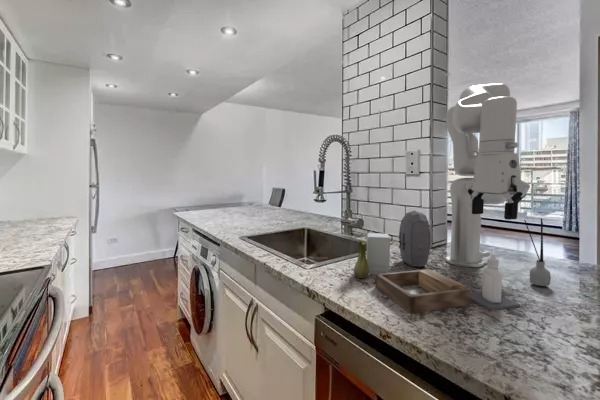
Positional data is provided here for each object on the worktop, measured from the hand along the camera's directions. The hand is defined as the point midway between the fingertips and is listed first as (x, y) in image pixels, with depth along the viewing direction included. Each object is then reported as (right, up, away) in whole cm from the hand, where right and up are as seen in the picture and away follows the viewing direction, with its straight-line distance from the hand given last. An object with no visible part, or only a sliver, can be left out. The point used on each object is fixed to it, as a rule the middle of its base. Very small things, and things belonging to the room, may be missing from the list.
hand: (493, 216), depth 77 cm
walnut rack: (-17, -22, +5) cm, 28 cm away
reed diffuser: (+21, -21, +13) cm, 33 cm away
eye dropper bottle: (0, -22, +1) cm, 22 cm away
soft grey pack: (-8, -20, +34) cm, 40 cm away
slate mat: (0, -22, +1) cm, 22 cm away
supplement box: (-23, -21, +26) cm, 40 cm away
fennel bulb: (-30, -21, +21) cm, 42 cm away
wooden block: (-11, -22, +7) cm, 25 cm away
